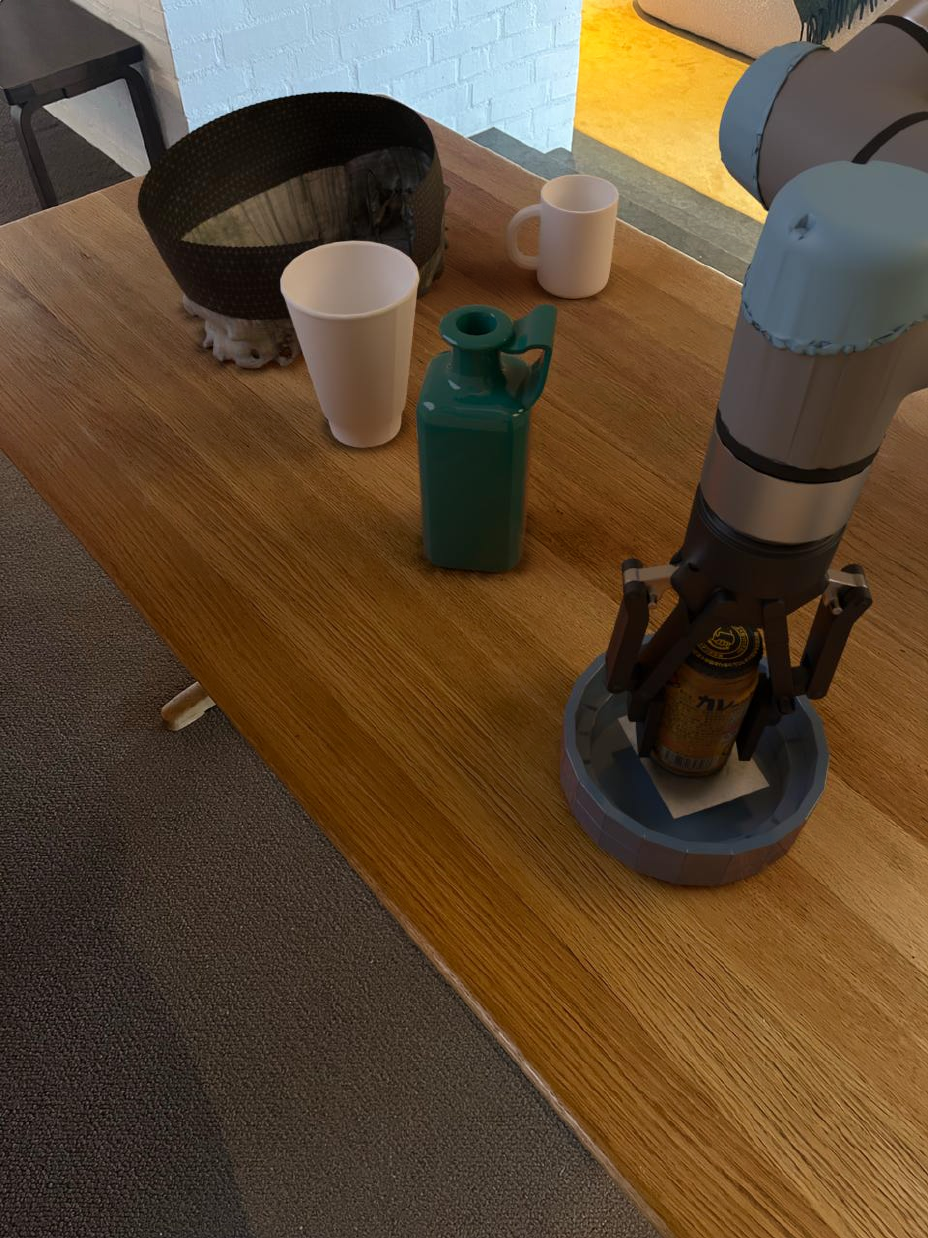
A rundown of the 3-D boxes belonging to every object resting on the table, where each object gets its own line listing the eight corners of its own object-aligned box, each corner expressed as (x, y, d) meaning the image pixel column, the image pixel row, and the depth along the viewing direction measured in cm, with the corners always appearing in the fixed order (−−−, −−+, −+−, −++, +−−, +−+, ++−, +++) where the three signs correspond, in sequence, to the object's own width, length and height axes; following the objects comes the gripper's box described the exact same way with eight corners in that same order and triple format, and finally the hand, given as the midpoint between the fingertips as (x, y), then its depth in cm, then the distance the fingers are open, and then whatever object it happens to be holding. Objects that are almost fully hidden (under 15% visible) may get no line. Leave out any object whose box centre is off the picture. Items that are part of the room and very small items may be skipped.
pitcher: (420, 568, 82) (406, 349, 65) (435, 499, 87) (426, 280, 70) (534, 579, 81) (550, 361, 64) (543, 509, 86) (560, 290, 69)
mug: (505, 302, 107) (507, 214, 99) (501, 262, 112) (503, 175, 104) (612, 300, 107) (623, 211, 99) (604, 260, 112) (613, 172, 104)
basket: (519, 328, 104) (525, 180, 91) (200, 409, 96) (159, 259, 83) (424, 206, 120) (418, 67, 108) (145, 267, 112) (104, 124, 99)
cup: (369, 371, 99) (354, 225, 87) (451, 422, 94) (448, 274, 82) (280, 425, 94) (250, 277, 81) (361, 483, 89) (343, 334, 76)
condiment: (707, 690, 70) (742, 582, 61) (769, 787, 65) (817, 685, 56) (617, 720, 69) (638, 614, 59) (673, 821, 64) (706, 722, 54)
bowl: (784, 678, 74) (803, 634, 70) (828, 895, 63) (854, 859, 59) (556, 671, 75) (561, 627, 71) (561, 885, 64) (567, 848, 60)
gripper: (947, 450, 50) (821, 701, 68) (579, 442, 50) (552, 692, 68) (990, 556, 45) (843, 796, 63) (584, 546, 46) (553, 785, 64)
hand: (692, 742), depth 66 cm, fingers closed on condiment, 6 cm apart
